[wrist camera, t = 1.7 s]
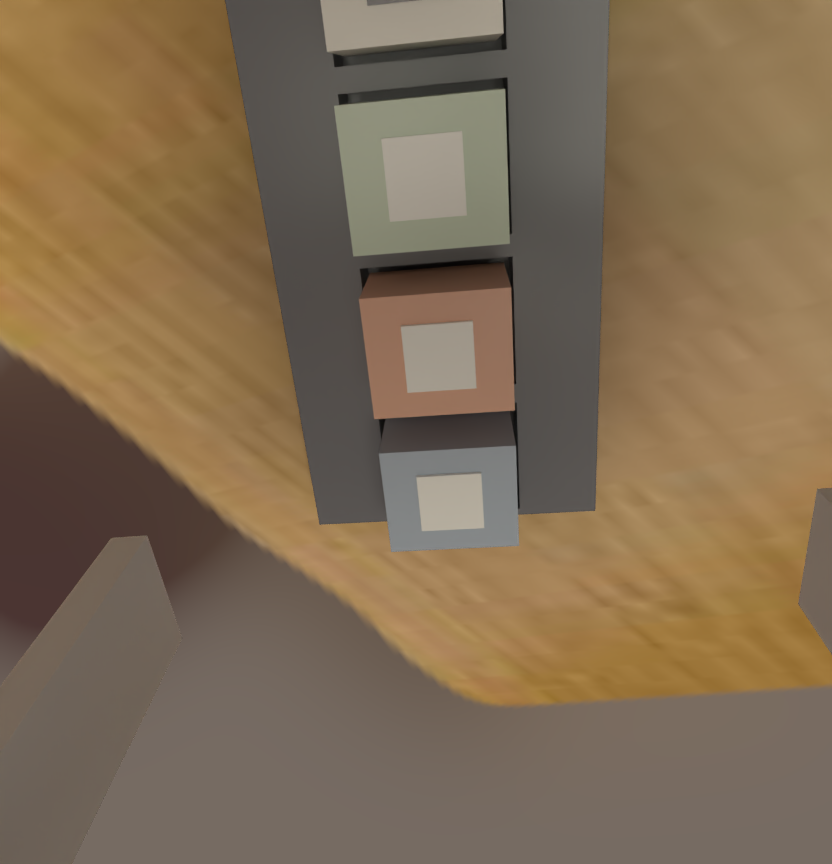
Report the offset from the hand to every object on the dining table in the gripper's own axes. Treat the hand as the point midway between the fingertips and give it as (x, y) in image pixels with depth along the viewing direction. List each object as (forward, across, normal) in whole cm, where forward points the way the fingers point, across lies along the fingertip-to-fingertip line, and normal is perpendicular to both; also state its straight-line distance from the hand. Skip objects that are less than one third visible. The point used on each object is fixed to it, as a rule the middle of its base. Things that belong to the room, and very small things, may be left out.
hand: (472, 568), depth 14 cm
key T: (+15, -1, 0) cm, 15 cm away
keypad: (+17, -1, +3) cm, 17 cm away
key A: (+15, -1, +6) cm, 16 cm away
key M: (+15, -1, -5) cm, 16 cm away
